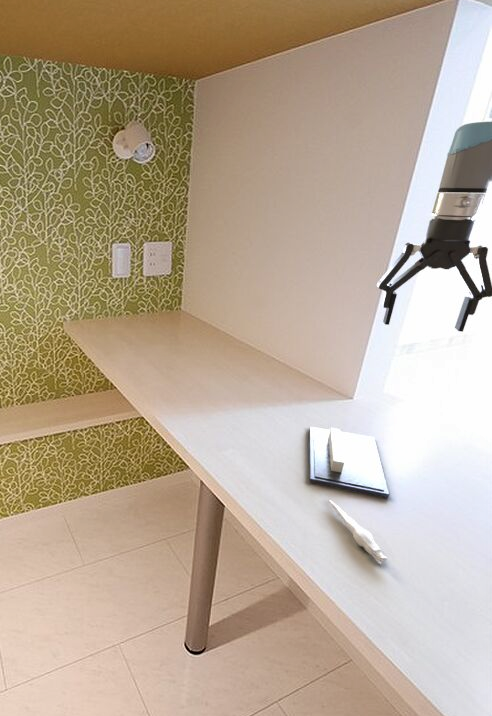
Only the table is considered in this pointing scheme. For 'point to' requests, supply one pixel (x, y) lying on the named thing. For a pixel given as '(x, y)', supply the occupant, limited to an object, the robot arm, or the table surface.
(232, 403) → the table surface
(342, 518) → the white tapered piece
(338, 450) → the white rectangular bar
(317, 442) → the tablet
